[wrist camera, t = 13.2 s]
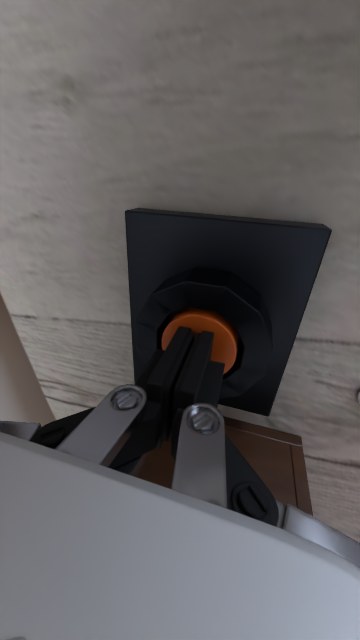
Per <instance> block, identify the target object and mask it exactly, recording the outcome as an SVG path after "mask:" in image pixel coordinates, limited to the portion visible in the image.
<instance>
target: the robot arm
mask: <svg viewBox="0 0 360 640" xmlns="http://www.w3.org/2000/svg"><path fill="white" fill-rule="evenodd" d="M194 336H195V332H192V331H191V328H188V327H182V326H179V327H178V329H177V331H176V332H175V334H174V336H173V338H172V339H171V341H170V343H169V344H168V346H167V348H166V350H161V349H157V350H156V351H155V353H154V354H153V356H152V358H151V359H150V361H149V362H148V364H147V365H146V367H145V369H144V370H143V372H142V373H141V375H140V376H139V378H138V380H137V381H136V383H135V384H134V385H133V384H126V385H121V386H119V387H117V388H115V389H114V390H112V391H111V392H110V393H109V394H108V395H107V396H106V397H105V398H104V399H103V400H102V401H101V402H100V403H99V404H98V405H97V406H96V407H94V408H91V409H88V410H85V411H82V412H79V413H76V414H73V415H71V416H68V417H65V418H62V419H59V420H56V421H53V422H51V423H49V424H46V425H45V426H41V425H40V423H28V422H13V421H0V640H360V543H358V542H357V541H355V540H353V539H351V538H350V537H348V536H346V535H344V534H343V533H341V532H339V531H337V530H335V529H334V528H332V527H330V526H328V525H327V524H325V523H323V522H321V521H319V520H318V519H316V518H314V517H312V516H311V515H309V514H307V513H305V512H303V511H302V510H300V509H298V508H296V507H295V506H293V505H291V504H289V503H287V505H284V504H283V503H281V502H279V501H277V500H276V499H275V498H274V496H273V494H272V493H271V491H270V490H269V489H268V487H267V486H266V485H265V483H264V482H263V481H262V480H261V478H260V477H259V476H258V475H257V473H256V472H255V471H254V469H253V468H252V467H251V466H250V464H249V463H248V462H247V460H246V459H245V458H244V457H243V455H242V454H241V453H240V452H239V450H238V449H237V448H236V446H235V445H234V444H233V443H232V441H231V440H230V439H229V438H228V436H227V435H226V434H225V428H224V418H223V415H222V414H221V412H220V411H219V410H218V409H217V405H218V400H219V395H220V390H221V384H222V379H223V373H224V368H225V363H221V362H216V361H211V354H212V347H213V340H214V332H208V331H202V333H197V335H196V338H195V340H194ZM170 434H171V455H172V457H173V459H174V461H175V467H174V474H173V481H172V487H171V489H168V488H166V487H163V486H160V485H157V484H154V483H151V482H148V481H145V480H142V479H139V478H136V477H135V476H136V474H137V473H138V471H139V469H140V468H141V466H142V464H143V463H144V461H145V459H146V457H147V453H148V452H149V451H151V450H154V449H155V448H159V449H160V448H161V446H162V443H163V441H166V442H168V440H169V437H170Z"/></svg>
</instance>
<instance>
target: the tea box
mask: <svg viewBox="0 0 360 640" xmlns="http://www.w3.org/2000/svg"><path fill="white" fill-rule="evenodd" d="M223 418H224V428H225V434H226V435H227V436H228V438H229V439H230V440H231V441H232V443H233V444H234V445H235V446H236V448H237V449H238V450H239V452H240V453H241V454H242V455H243V457H244V458H245V459H246V460H247V462H248V463H249V464H250V466H251V467H252V468H253V469H254V471H255V472H256V473H257V475H258V476H259V477H260V478H261V480H262V481H263V482H264V483H265V485H266V486H267V487H268V489H269V490H270V491H271V493H272V494H273V496H274V498H275V499H276V500H277V501H279V502H281V503H283V504H284V505H287V503H289V504H291V505H293V506H295V507H296V508H298V509H300V510H302V511H303V512H305V513H307V514H309V515H311V516H312V517H313V513H312V506H311V500H310V493H309V487H308V480H307V474H306V467H305V461H304V454H303V448H302V441H301V437H298V436H294V435H291V434H287V433H283V432H279V431H276V430H272V429H268V428H264V427H261V426H257V425H253V424H249V423H245V422H242V421H238V420H234V419H230V418H227V417H223ZM174 467H175V461H174V459H173V457H172V455H171V434H170V437H169V440H168V442H166V441H163V443H162V446H161V448H160V449H159V448H155V449H154V450H151V451H149V452H148V453H147V457H146V459H145V461H144V463H143V464H142V466H141V468H140V469H139V471H138V473H137V474H136V476H135V477H136V478H139V479H142V480H145V481H148V482H151V483H154V484H157V485H160V486H163V487H166V488H168V489H171V487H172V481H173V474H174Z"/></svg>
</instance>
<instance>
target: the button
mask: <svg viewBox="0 0 360 640" xmlns="http://www.w3.org/2000/svg"><path fill="white" fill-rule="evenodd" d="M179 326H182V327H188V328H191V331H192V332H195V336H194V340H195V338H196V335H197V333H202V331H208V332H214V340H213V347H212V354H211V361H216V362H221V363H225V368H224V373H223V374H225V373H226V372H227V371H228V370H229V369H230V368H231V367H232V366H233V364H234V362H235V359H236V355H237V348H238V341H239V334H238V332H237V330H236V327H235V326H234V325H232V324H231V323H230V322H228V321H227V320H226V319H224V318H223V317H222V316H220V315H219V314H218V313H216V312H215V311H210V310H204V309H198V308H192V307H188V308H185V309H182V310H180V311H177V312H176V313H175V315H174V316H173V318H172V319H171V321H170V323H169V324H168V326H167V327H166V329H165V330H164V333H163V336H162V349H163V350H166V348H167V346H168V344H169V343H170V341H171V339H172V338H173V336H174V334H175V332H176V331H177V329H178V327H179Z"/></svg>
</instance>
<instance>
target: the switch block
mask: <svg viewBox="0 0 360 640" xmlns="http://www.w3.org/2000/svg"><path fill="white" fill-rule="evenodd" d="M125 221H126V239H127V257H128V274H129V292H130V310H131V328H132V345H133V363H134V381H135V383H136V381H137V380H138V378H139V376H140V375H141V373H142V372H143V370H144V369H145V367H146V365H147V364H148V362H149V361H150V359H151V358H152V356H153V354H154V353H155V351H156V350H157V349H161V350H163V349H162V336H163V333H164V330H165V329H166V327H167V326H168V324H169V323H170V321H171V319H172V318H173V316H174V315H175V313H176V312H177V311H180V310H182V309H185V308H188V307H192V308H198V309H204V310H210V311H215V312H216V313H218V314H219V315H220V316H222V317H223V318H224V319H226V320H227V321H228V322H230V323H231V324H232V325H234V326H235V327H236V330H237V332H238V334H239V341H238V348H237V355H236V359H235V362H234V364H233V366H232V367H231V368H230V369H229V370H228V371H227V372H226V373H225V374H223V379H222V384H221V390H220V395H219V400H218V404H221V405H225V406H229V407H233V408H237V409H241V410H244V411H248V412H252V413H256V414H260V415H264V416H269V414H270V411H271V408H272V405H273V402H274V400H275V397H276V394H277V391H278V388H279V385H280V382H281V379H282V376H283V373H284V370H285V367H286V364H287V361H288V358H289V355H290V352H291V350H292V347H293V344H294V341H295V338H296V335H297V332H298V329H299V326H300V323H301V320H302V317H303V314H304V311H305V308H306V305H307V302H308V300H309V297H310V294H311V291H312V288H313V285H314V282H315V279H316V276H317V273H318V270H319V267H320V264H321V261H322V258H323V255H324V252H325V250H326V247H327V244H328V241H329V238H330V235H331V232H332V230H331V229H330V228H328V227H327V226H325V225H324V224H316V223H304V222H293V221H282V220H270V219H259V218H248V217H236V216H225V215H214V214H202V213H191V212H179V211H168V210H157V209H145V208H135V209H130V210H126V211H125Z"/></svg>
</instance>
